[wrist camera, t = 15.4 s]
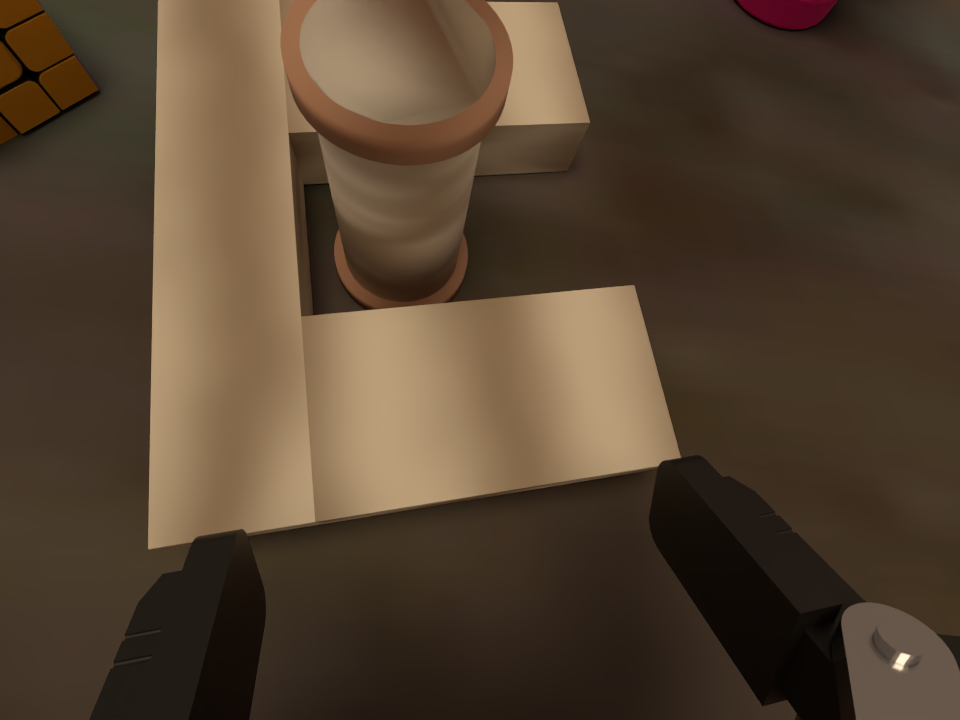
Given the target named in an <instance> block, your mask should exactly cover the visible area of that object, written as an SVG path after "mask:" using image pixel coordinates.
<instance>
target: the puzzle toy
mask: <svg viewBox="0 0 960 720" xmlns="http://www.w3.org/2000/svg"><path fill="white" fill-rule="evenodd" d="M97 90H99V88H98V87H97V85H96V84H95V82H94V81H93V79H92V78H91V77H90V75H89V74H88V72H87V71H86V69H85V68H84V66H83V65H82V64H81V62H80V61H79V59H78V58H77V56H76V55H75V54H74V52H73V51H72V49H71V48H70V46H69V45H68V43H67V42H66V40H65V39H64V38H63V36H62V35H61V33H60V32H59V30H58V29H57V27H56V26H55V25H54V23H53V22H52V20H51V19H50V17H49V16H48V15H47V13H46V12H45V11H44V10H43V8H42V6H41V5H40V3H39V2H38V0H0V113H1V114H2V115H3V116H4V117H5V118H6V119H7V120H8V121H9V122H10V123H11V124H12V125H13V126H14V127H15V128H16V129H17V130H18V131H19V132H20V133H21V134H23V133H24V132H26V131H28V130H30V129H31V128H33V127H35V126H37V125H38V124H40V123H42V122H44V121H45V120H47V119H49V118H51V117H52V116H54V115H56V114H58V113H59V112H60V110H59V109H58V108H57V107H56V106H55V104H56V105H57V106H58V107H60V108H61V109H62V110H64V109H66V108H68V107H69V106H71V105H73V104H75V103H76V102H78V101H80V100H82V99H83V98H85V97H87V96H89V95H90V94H92V93H94V92H96V91H97ZM50 99H51V100H52V101H53V102H54V103H55V104H54V103H53V102H52V101H51V100H50ZM17 135H18V134H17V133H16V132H15V131H14V130H13V128H12V127H11V126H10V125H9V124H8V123H7V122H6V121H5V120H4V119H3V118H2V117H1V116H0V145H1V144H3V143H4V142H6V141H8V140H10V139H11V138H13V137H15V136H17Z"/></svg>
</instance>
